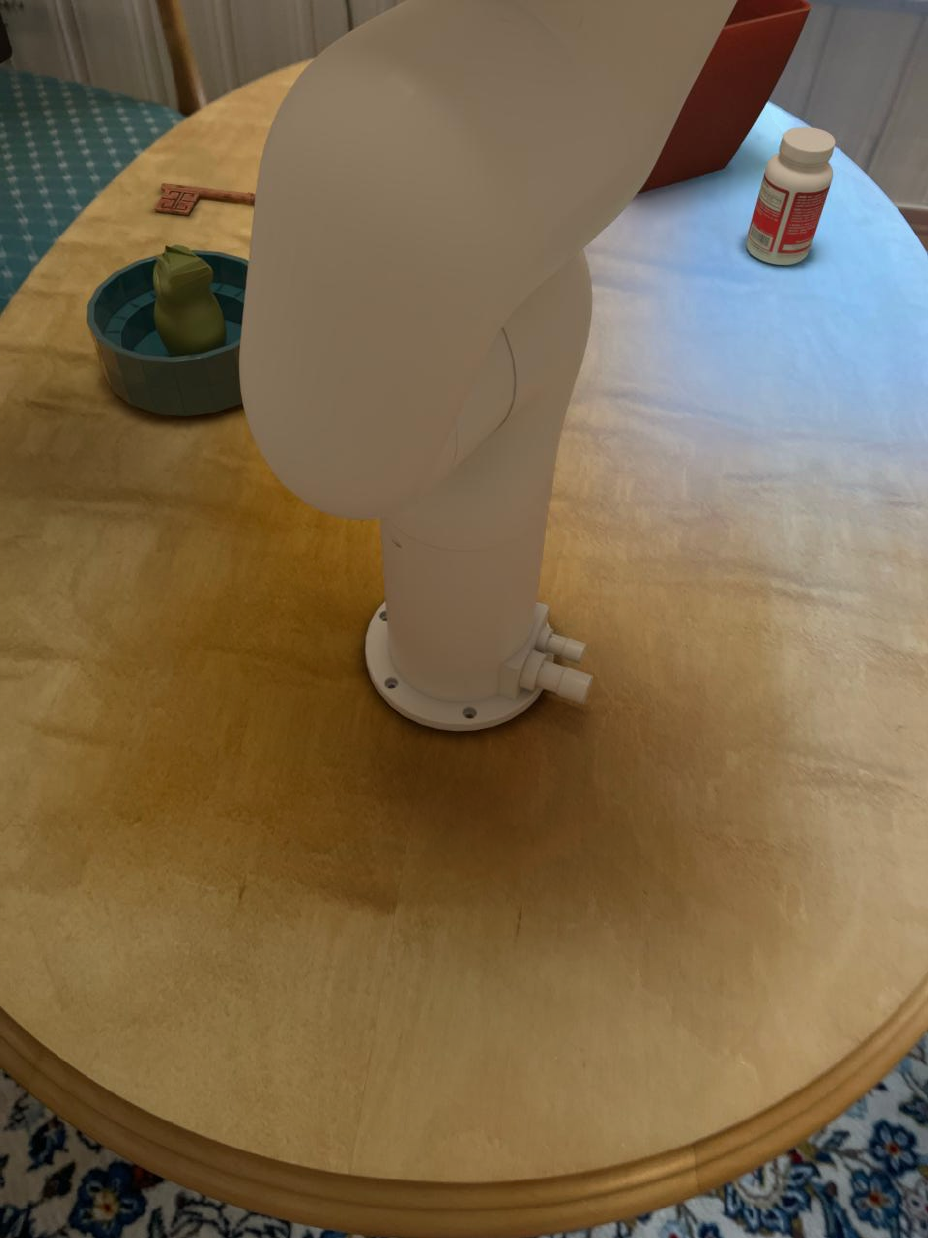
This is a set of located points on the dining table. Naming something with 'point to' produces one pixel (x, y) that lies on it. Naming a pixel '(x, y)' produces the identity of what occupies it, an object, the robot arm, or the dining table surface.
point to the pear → (186, 304)
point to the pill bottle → (792, 197)
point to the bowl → (141, 357)
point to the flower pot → (730, 89)
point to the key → (189, 200)
